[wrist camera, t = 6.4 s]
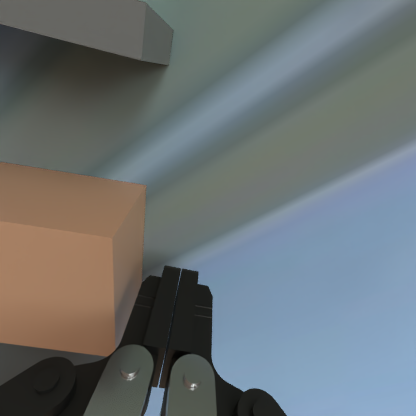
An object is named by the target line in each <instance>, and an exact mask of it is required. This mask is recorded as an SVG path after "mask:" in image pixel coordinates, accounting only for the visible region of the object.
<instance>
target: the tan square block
mask: <svg viewBox="0 0 416 416" xmlns="http://www.w3.org/2000/svg"><path fill="white" fill-rule="evenodd" d="M145 202H146V185H142V184H135V183H129V182H123V181H117V180H110V179H104V178H98V177H92V176H85V175H79V174H73V173H67V172H60V171H54V170H48V169H42V168H35V167H29V166H23V165H17V164H10V163H4V162H1V163H0V343H7V344H14V345H22V346H30V347H37V348H45V349H53V350H60V351H68V352H76V353H84V354H91V355H99V356H109V355H110V354H111V353H113V352H114V351H115V349H116V348H117V347H118V345H119V344H120V342H121V339H122V337H123V334H124V331H125V328H126V325H127V323H128V320H129V317H130V314H131V312H132V309H133V306H134V303H135V300H136V298H137V295H138V292H139V289H140V287H141V284H142V266H143V245H144V223H145Z"/></svg>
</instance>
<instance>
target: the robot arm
mask: <svg viewBox="0 0 416 416" xmlns="http://www.w3.org/2000/svg"><path fill="white" fill-rule="evenodd" d="M180 271H181V268H176V267H171V266H164V270H163V273H162V277H156V276H151V275H150V276H149V277H148V278H147V279H146V280H145V281H144V282H143V283H142V284H141V287H140V289H139V292H138V295H137V298H136V300H135V303H134V306H133V309H132V312H131V314H130V317H129V320H128V323H127V325H126V328H125V331H124V334H123V337H122V339H121V342H120V344H119V345H118V347H117V348H116V349H115V351H114V352H113V353H111V354H110V355H109V356H107V357H106V358H104V359H102V360H99V361H96V362H92V363H86V364H81V365H75V366H74V365H73V363H72V362H71V361H70V360H68V359H67V358H64V357H50V358H46V359H44V360H41V361H39V362H38V363H36V364H34V365H33V366H31V367H30V368H28V369H26V370H25V371H23V372H21V373H20V374H18V375H17V376H15V377H13V378H12V379H10V380H9V381H7V382H5V383H4V384H2V385H1V386H0V416H144V414H145V412H146V410H147V407H148V402H149V397H150V393H151V388H152V387H157V386H158V381H159V377H160V373H161V368H162V364H163V368H162V374H161V379H160V385H159V388H165V391H164V397H163V403H162V408H161V411H160V416H287V415H286V414H285V413H284V411H283V410H282V409H281V407H280V406H279V405H278V403H277V402H276V401H275V400H274V398H273V397H272V396H271V395H270V394H268V393H267V392H265V391H263V390H261V389H255V388H254V389H249V390H247V391H245V392H243V391H241V390H240V389H238V388H236V387H234V386H233V385H231V384H229V383H227V382H226V381H224V380H223V379H222V378H221V377H220V376H219V375H218V373H217V372H216V370H215V368H214V366H213V363H212V357H211V348H212V299H213V296H212V294H211V292H210V289H209V287H208V286H205V285H200V284H197V283H198V271H192V270H187V269H182V272H181V276H180ZM179 276H180V281H179ZM178 282H179V285H178ZM177 287H178V290H177ZM176 292H177V294H176ZM175 298H176V299H175ZM174 303H175V304H174ZM171 319H172V320H171ZM169 330H170V331H169ZM168 335H169V336H168ZM166 346H167V347H166ZM165 351H166V352H165ZM164 355H165V358H164ZM163 360H164V363H163Z"/></svg>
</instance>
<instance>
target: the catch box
mask: <svg viewBox="0 0 416 416" xmlns="http://www.w3.org/2000/svg"><path fill="white" fill-rule="evenodd" d="M0 24H2V25H6V26H10V27H14V28H17V29H21V30H25V31H29V32H33V33H37V34H41V35H44V36H48V37H52V38H56V39H60V40H64V41H68V42H71V43H75V44H79V45H83V46H87V47H91V48H95V49H99V50H102V51H106V52H110V53H114V54H118V55H122V56H126V57H129V58H133V59H137V60H141V61H147V62H153V63H158V64H164V65H169V60H170V53H171V45H172V38H173V29H172V28H171V27H170V26H169V25H168V24H167V23H166V22H165V21H164V20H163V19H162V18H161V17H160V16H159V15H158V14H157V13H156V12H155V11H154V10H153V9H152V8H151V7H150V6H149V5H148V4H147V3H145V2H141V1H138V0H0ZM50 357H64V358H67V359H68V360H70V361H71V362H72V363H73V365H74V366H75V365H81V364H86V363H92V362H96V361H99V360H102V359H104V358H106V357H107V356H99V355H91V354H84V353H76V352H68V351H60V350H53V349H45V348H37V347H30V346H22V345H14V344H7V343H0V386H1V385H2V384H4V383H5V382H7V381H9V380H10V379H12V378H13V377H15V376H17V375H18V374H20V373H21V372H23V371H25V370H26V369H28V368H30V367H31V366H33V365H34V364H36V363H38V362H39V361H41V360H44V359H46V358H50Z"/></svg>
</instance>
